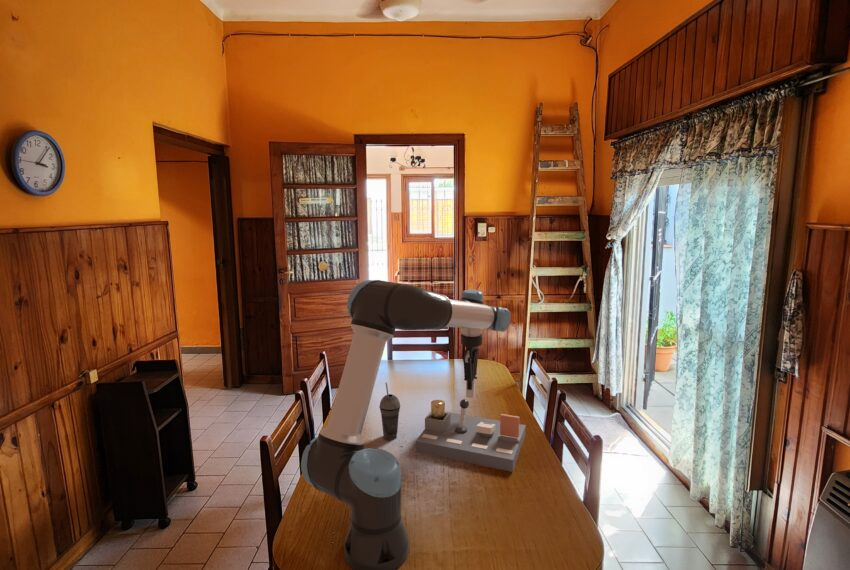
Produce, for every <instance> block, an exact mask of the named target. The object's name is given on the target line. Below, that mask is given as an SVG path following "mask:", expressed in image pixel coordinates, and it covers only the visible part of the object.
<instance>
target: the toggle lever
mask: <svg viewBox="0 0 850 570" xmlns="http://www.w3.org/2000/svg"><path fill="white" fill-rule="evenodd" d="M469 406H470V402H469V400H468V399H465V398H464V399H462V400H460V401H459V408H460V413H459V414H460V422H459V425H461V426H464V422H465V415H467V414H466V413H467V408H469Z"/></svg>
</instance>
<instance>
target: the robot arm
mask: <svg viewBox="0 0 850 570" xmlns="http://www.w3.org/2000/svg"><path fill="white" fill-rule="evenodd" d="M460 296H461V297H460V299H458V300H457V299H452V298H449V297H447V295H445V294H442V293H438V292H435V291H432V290H427V289H425V288H422V287H419V286H416V285H412V284H405V283H400V282H394V281H386V280H380V279H367V280H363V281H361V282H359V283H357V284H356V285H355V286H354V287H353V288H352V290H351V292H350V293H349V295H348V298H347V303H346V309H347V310H348V311H347V313H348V316H349V317H350V318H351V322H350V327H351V329H352V332H353V335H352V339H351V343H350V346H349V351H348V354H347V357H346V361H345V364H344V367H343V371H342V375H341V378H340V381H339V385H338V389H337V392H336V395H335V396H336V397H335V400H334V401H333V402H334V403H333V407H332V410H331V412H330V417H329V420H328V422H327V423H328V424H327V425H326V426H325V427H324V428H322V429H320V431H319V434H318V436H316V437H314V438H313V439H312V440H311V441H309V444H307V445H306V446H305V448H304V450H303V452H302V455H301V456H302V457H301V460H300V461H301V462H300V468H301V473H302V476H303V478H304V480H305V482H307V484H309V485H311V486H312V487H313V488H314V489H315V490H317V491H320V492H323V493H325V494H326V495H328V496H331V498H334V499H336V500H338V501H340V502H342V503H344V504H345V505H348V506H349V508H350V525H349V527H348V531H347V534H346V537H345V541H344V546H343V547H344V548H343V549H344V550H343V551H344V559H345V561H346V563H347V564H348V566H349V567H350V568H351V569H352V570H397V569H398V568H399V567H401V566H402V565H403V564H404V562H405V561H406V560H407V558H408V556H409V552H410V540H409V536H408V533H407V531H406V527H405V525H404V522H403V519H402V485H403V484H402V481H403V480H402V472H401V465H400V462H399V460H398V459H397V458H396V456H395V455H394V454H393V453H391V451H387V450H386V449H382V448H375V449H373V448H372V447H369V448H368V447H366V448H365V444H366V441H365V439H364V437H363V435H362V431H363V429H364V424H365V421H366V417H367V413H368V410H369V406H370V402H371V399H372V395H373V391H374V388H375V384H376V379H377V377H378V374H379V368H380V366H381V361H382V359H383V354H384V350H385V347H386V343H387V341H389V340H391V339H392V338H394V336H395V332H396V330H399V331H429V330H430V331H440V330H443V329H445V328H460V333H461V335H460V344H461V346H463V347H464V348H465V349H464V354H463V355H464V356H463V357H462V362H463V375H464V378H463V380H464V381H465V383H466V386H465V388H466V389H465V390H466V391H465V397H466V398H471V399H474V398H475V393H476V392H475V391H476V389H475V387H476V386H475V384H476V383H475V382H476V380H477V379H478V376H477V372H478V371H477V369H478V360H479V359H478V358H479V351H480V348H478V347H481V346H482V344H483V335H482V333H483V330H487V331H488V330H489V331H493V332H501V333H502V332H503V333H504V332H506V331H507V330H508V329H509V327H510V325H511V319H512V315H511V312H510V310H509V309H508V308H505V307H501V306H494V305H487V304H484V293H483V291H481V290H477V289H465V290H463V291H462V292H461V295H460Z"/></svg>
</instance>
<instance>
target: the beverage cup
mask: <svg viewBox="0 0 850 570" xmlns="http://www.w3.org/2000/svg"><path fill="white" fill-rule="evenodd" d="M388 387H389V386H388V382H385V388H386V394H385V395H384V396H383V397H382V398H381V400H380V402H379V407H378V408H379V411H380V415H381V416H380V417H381V423H382V424H381V425H382V434H383V438H384V440H385V441H394V440H396V439H397V437H398V430H399V429H398V428H399V427H398V426H399V418H400V417H399V414H400V410H401V402H400V400H399V398H398V396H396V395H394V394H391V393H389V389H388Z"/></svg>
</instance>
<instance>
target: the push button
mask: <svg viewBox="0 0 850 570" xmlns="http://www.w3.org/2000/svg"><path fill="white" fill-rule="evenodd" d="M430 412H431V418H432V419H438V420H443V419H444V418H445V412H446V401H444V400H442V399H433V400H432V401H430Z"/></svg>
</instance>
